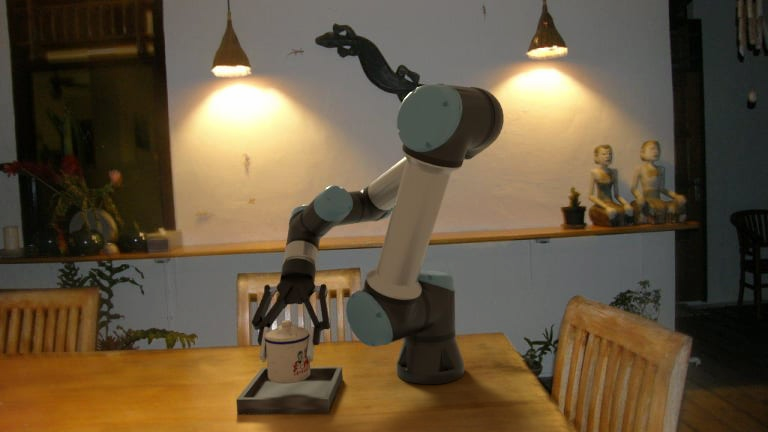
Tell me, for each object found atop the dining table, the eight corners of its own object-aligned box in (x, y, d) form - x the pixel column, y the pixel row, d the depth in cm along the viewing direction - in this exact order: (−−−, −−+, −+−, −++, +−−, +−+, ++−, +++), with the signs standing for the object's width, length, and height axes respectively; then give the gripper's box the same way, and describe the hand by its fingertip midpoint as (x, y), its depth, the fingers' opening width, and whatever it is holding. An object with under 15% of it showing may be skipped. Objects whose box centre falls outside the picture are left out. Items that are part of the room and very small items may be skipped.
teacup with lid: (301, 386, 120) (298, 328, 119) (259, 383, 122) (255, 326, 121) (322, 364, 131) (320, 312, 130) (283, 362, 134) (280, 310, 133)
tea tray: (342, 379, 135) (342, 366, 135) (328, 414, 117) (328, 399, 117) (263, 380, 137) (262, 367, 136) (237, 414, 119) (236, 399, 118)
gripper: (349, 274, 139) (341, 366, 125) (256, 276, 141) (238, 367, 127) (345, 255, 134) (336, 350, 119) (248, 257, 135) (228, 350, 121)
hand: (286, 358), depth 123 cm, fingers closed on teacup with lid, 9 cm apart
